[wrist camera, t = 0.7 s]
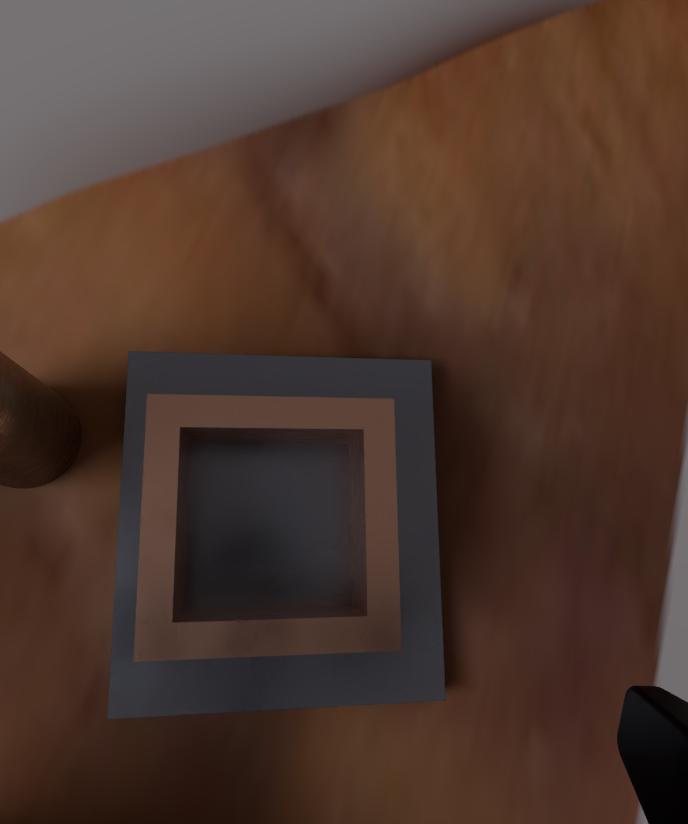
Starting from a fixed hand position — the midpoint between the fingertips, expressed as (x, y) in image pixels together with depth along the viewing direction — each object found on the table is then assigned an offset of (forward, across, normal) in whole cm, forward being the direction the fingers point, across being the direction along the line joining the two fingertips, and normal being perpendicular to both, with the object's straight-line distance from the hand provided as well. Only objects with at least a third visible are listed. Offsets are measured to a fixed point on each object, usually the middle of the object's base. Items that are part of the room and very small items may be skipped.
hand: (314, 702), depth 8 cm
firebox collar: (+14, +1, +3) cm, 14 cm away
